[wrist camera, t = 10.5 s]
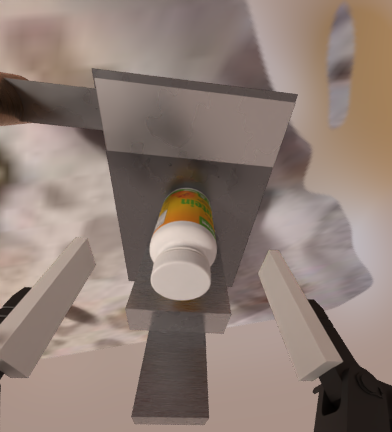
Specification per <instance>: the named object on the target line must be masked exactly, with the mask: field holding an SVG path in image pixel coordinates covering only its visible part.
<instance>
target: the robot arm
mask: <svg viewBox="0 0 392 432" xmlns="http://www.w3.org/2000/svg"><path fill="white" fill-rule="evenodd" d="M95 265H96V264H95V261H94V257H93V254H92V251H91V248H90V245H89V242H88V239H87V238H77V237H76V238H75V239H74V240H73V241H72V242H71V244H70V245H69V246H68V247H67V248H66V249H65V250H64V252H63V253H62V254H61V255H60V256H59V257H58V258H57V260H56V261H55V262H54V263H53V264H52V265H51V267H50V268H49V269H48V270H47V271H46V272H45V273H44V275H43V276H42V277H41V278H40V279H39V280H38V281H37V283H36V284H35V285H34V286H33V287H32V288H30V287H24V288H23V289H21V290H20V291H19V292H17V293H16V294H14V295H13V296H12V297H11V298H10V299H9V300H8V301H7V302H6V303H5V304H4V305H3V308H1V309H0V379H1V377H2V376H3V374H6V375H7V376H9V377H10V378H29V376H30V374H31V372H32V371H33V369H34V367H35V366H36V364H37V362H38V361H39V359H40V357H41V356H42V354H43V352H44V351H45V349H46V347H47V346H48V344H49V342H50V341H51V339H52V337H53V336H54V334H55V332H56V331H57V329H58V327H59V326H60V324H61V322H62V321H63V319H64V317H65V316H66V314H67V312H68V311H69V309H70V307H71V306H72V304H73V302H74V301H75V299H76V297H77V296H78V294H79V292H80V291H81V289H82V287H83V286H84V284H85V282H86V281H87V279H88V277H89V276H90V274H91V272H92V271H93V269H94V267H95ZM258 275H259V278H260V280H261V283H262V286H263V288H264V291H265V293H266V296H267V299H268V301H269V304H270V307H271V309H272V312H273V315H274V317H275V320H276V322H277V325H278V327H279V330H280V333H281V335H282V338H283V341H284V343H285V346H286V349H287V351H288V354H289V357H290V359H291V362H292V364H293V367H294V370H295V372H296V375H297V378H298V380H299V381H313V380H315V379H317V378H318V377H319V379H320V381H321V383H322V384H321V385H319V386H317V387H315V388H314V390H313V393H314V394H316V393H318V392H319V396H318V397H319V398H318V404H317V412H316V420H315V427H314V432H392V386H391V385H388V384H386V383H383V382H381V381H379V380H377V379H376V378H375V377H374V376H373V375H372V374H370V373H369V372H368V371H367V370H366V369H364V368H362V367H360V366H359V365H358V363H357V362H356V361H355V359H354V358H353V356H352V355H351V353H350V351H349V350H348V348H347V347H346V345H345V343H344V342H343V340H342V339H341V337H340V335H339V334H338V332H337V331H336V329H335V328H334V327H333V324H332V323H331V321H330V320H329V319H328V317H327V315H326V314H325V312H324V310H323V308H322V307H321V306H320V305H319V304H318V303H317V302H316V301H315V300H309V299H307V298H306V297H305V295H304V293H303V291H302V290H301V288H300V286H299V285H298V283H297V281H296V279H295V278H294V276H293V274H292V272H291V271H290V269H289V267H288V266H287V264H286V262H285V260H284V259H283V257H282V255H281V253H280V252H279V250H269V251H268V253H267V255H266V257H265V259H264V262H263V264H262V266H261V268H260V270H259V272H258ZM0 387H1V385H0ZM0 389H1V388H0Z"/></svg>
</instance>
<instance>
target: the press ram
mask: <svg viewBox="0 0 392 432" xmlns="http://www.w3.org/2000/svg"><path fill="white" fill-rule="evenodd" d="M95 84H96V89H94V88H85V87H77V86H69V85H60V84H52V83H44V82H36V81H29V80H27V79H26V78H24V77H22V76H19V75H14V74H8V73H3V72H0V126H6V125H16V124H25V123H40V124H49V125H58V126H68V127H77V128H86V129H96V130H103V131H104V136H105V142H106V148H107V150H108V151H117V152H127V153H137V154H147V155H157V156H167V157H177V158H187V159H197V160H206V161H216V162H226V163H236V164H246V165H256V166H266V167H274V164H275V161H276V158H277V155H278V152H279V149H280V146H281V143H282V141H283V138H284V135H285V132H286V129H287V126H288V123H289V120H290V117H291V114H292V112H293V109H294V106H295V103H294V102H286V101H278V100H270V99H262V98H254V97H246V96H238V95H229V94H221V93H213V92H205V91H197V90H189V89H181V88H173V87H165V86H157V85H149V84H141V83H133V82H125V81H117V80H109V79H101V78H95Z"/></svg>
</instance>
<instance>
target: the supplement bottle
mask: <svg viewBox="0 0 392 432" xmlns="http://www.w3.org/2000/svg"><path fill="white" fill-rule="evenodd" d="M216 254H217V244H216V237H215V231H214V225H213V218H212V210H211V205H210V202H209V200H208V198H207V197H206V196H205V195H204V194H203V193H202V192H200V191H198V190H196V189H193V188H180V189H177V190H174V191H173V192H171V193H170V194H169V195H168V196H167V197H166V199H165V201H164V203H163V206H162V209H161V212H160V215H159V218H158V221H157V224H156V227H155V230H154V233H153V236H152V238H151V242H150V256H151V259H152V261H153V262H154V265H153V270H152V274H151V284H152V287H153V288H154V290H155V291H156V292H157V293H159V294H160V295H162V296H164V297H166V298H169V299H173V300H191V299H195V298H198V297H200V296H202V295H203V294H204V293H206V292H207V290H208V289H209V287H210V285H211V272H210V266H211V265H212V264H213V262H214V260H215V258H216Z"/></svg>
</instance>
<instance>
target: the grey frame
mask: <svg viewBox="0 0 392 432" xmlns="http://www.w3.org/2000/svg"><path fill="white" fill-rule="evenodd" d="M92 73H93V79H94V85H95V89H96V84H95V78H101V79H109V80H117V81H125V82H133V83H141V84H149V85H157V86H165V87H173V88H181V89H189V90H197V91H205V92H213V93H221V94H229V95H238V96H246V97H254V98H262V99H270V100H278V101H286V102H294V103H295V101H296V98H297V96H298V95H297V94H290V93H283V92H275V91H267V90H259V89H251V88H243V87H236V86H228V85H220V84H212V83H204V82H196V81H188V80H180V79H173V78H165V77H157V76H149V75H141V74H133V73H125V72H118V71H110V70H102V69H94V68H92ZM103 136H104V131H103ZM104 142H105V136H104ZM105 147H106V142H105ZM106 153H107V159H108V165H109V170H110V176H111V182H112V187H113V193H114V199H115V204H116V210H117V216H118V222H119V227H120V233H121V239H122V244H123V250H124V256H125V262H126V267H127V273H128V279H129V281H135V282H134V285H133V288H132V291H131V294H130V297H129V300H128V302H127V305H126V308H125V310H126V314H127V319H128V323H129V328H130V330H149V333H148V338H147V343H146V348H145V353H144V358H143V363H142V368H141V373H140V377H139V382H138V387H137V392H136V397H135V402H134V406H133V411H132V416H131V417H132V419H133V421H134V423H135V424H165V425H167V424H168V425H169V424H171V425H172V424H173V425H205V423H206V422H207V420H208V419H209V409H208V408H209V407H208V384H207V362H206V339H205V333H219V334H223V333H224V331H225V329H226V326H227V324H228V321H229V319H230V316H231V310H230V304H229V298H228V292H227V287H232V284H233V282H234V279H235V276H236V273H237V270H238V267H239V264H240V261H241V258H242V255H243V252H244V250H245V247H246V244H247V241H248V238H249V235H250V232H251V229H252V226H253V223H254V220H255V218H256V215H257V212H258V209H259V206H260V203H261V200H262V197H263V194H264V191H265V189H266V186H267V183H268V180H269V177H270V174H271V171H272V168H273V167H266V166H256V165H246V164H236V163H226V162H216V161H206V160H197V159H187V158H177V157H167V156H157V155H147V154H137V153H127V152H117V151H108V150H107V148H106ZM180 188H193V189H196V190H198V191H200V192H202V193H203V194H204V195H205V196H206V197H207V198H208V200H209V202H210V205H211V210H212V218H213V225H214V231H215V237H216V244H217V254H216V258H215V260H214V262H213V264H212V265H211V266H210V272H211V285H210V287H209V289H208V290H207V292H206V293H204V294H203V295H202V296H200V297H198V298H195V299H191V300H173V299H169V298H166V297H164V296H162V295H160V294H159V293H157V292H156V291H155V290H154V288H153V287H152V284H151V274H152V270H153V265H154V262H153V261H152V259H151V256H150V242H151V238H152V236H153V233H154V230H155V227H156V224H157V221H158V218H159V215H160V212H161V209H162V206H163V203H164V201H165V199H166V197H167V196H168V195H169V194H170V193H171V192H173V191H174V190H177V189H180Z"/></svg>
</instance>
